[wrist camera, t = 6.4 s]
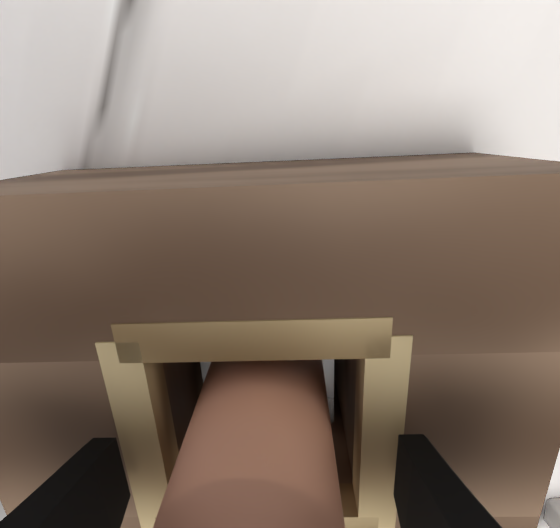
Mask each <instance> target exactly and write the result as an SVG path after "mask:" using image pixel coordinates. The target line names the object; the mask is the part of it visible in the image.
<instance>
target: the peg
mask: <svg viewBox="0 0 560 528" xmlns="http://www.w3.org/2000/svg"><path fill="white" fill-rule="evenodd" d="M153 528H345V524H344V516H343V509H342V502H341V494H340V487H339V480H338V472H337V465H336V458H335V450H334V443H333V436H332V428H331V421H330V414H329V406H328V399H327V392H326V384H325V377H324V370H323V362H322V360H274V361H223V362H211V363H210V366H209V369H208V372H207V375H206V378H205V380H204V383H203V386H202V389H201V392H200V395H199V397H198V400H197V403H196V406H195V409H194V412H193V414H192V417H191V420H190V423H189V426H188V429H187V432H186V434H185V437H184V440H183V443H182V446H181V449H180V451H179V454H178V457H177V460H176V463H175V466H174V469H173V471H172V474H171V477H170V480H169V483H168V486H167V488H166V491H165V494H164V497H163V500H162V503H161V506H160V508H159V511H158V514H157V517H156V520H155V523H154V526H153Z"/></svg>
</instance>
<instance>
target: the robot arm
mask: <svg viewBox="0 0 560 528" xmlns="http://www.w3.org/2000/svg"><path fill="white" fill-rule="evenodd" d="M393 495H394V500H395V504H396V509H397V514H398V518H399V523H400V527H401V528H502V527H501V526H500V525H499V523H498V522H497V521H496V520H495V519H494V518H493V517H492V515H491V514H490V513H489V512H488V511H487V510H486V509H485V507H484V506H483V505H482V504H481V503H480V502H479V501H478V500H477V498H476V497H475V496H474V495H473V494H472V492H471V491H470V490H469V489H468V488H467V487H466V485H465V484H464V483H463V482H462V480H461V479H460V478H459V477H458V476H457V474H456V473H455V472H454V471H453V470H452V468H451V467H450V466H449V465H448V463H447V462H446V461H445V460H444V458H443V457H442V456H441V455H440V453H439V452H438V451H437V450H436V448H435V447H434V446H433V445H432V443H431V442H430V441H429V439H428V438H427V437H426V436H425V435H424V434H399V435H398V447H397V458H396V469H395V481H394V492H393ZM130 496H131V494H130V490H129V486H128V482H127V478H126V474H125V471H124V467H123V463H122V459H121V455H120V451H119V447H118V443H117V439H116V437H112V438H92V439H91V440H90V441H89V442H88V443H87V444H85V445H84V446H83V447H82V448H81V449H80V450H79V451H78V452H77V453H75V454H74V455H73V456H72V457H71V458H70V459H69V460H68V461H67V462H66V463H64V464H63V465H62V466H61V467H60V468H59V469H58V470H57V471H56V472H55V473H54V474H53V475H51V476H50V477H49V478H48V479H47V480H46V481H45V482H44V483H43V484H42V485H40V486H39V487H38V488H37V489H36V490H35V491H34V492H33V493H32V494H30V495H29V496H28V497H27V498H26V499H25V500H24V501H23V502H22V503H20V504H19V505H18V506H17V507H16V508H15V509H14V510H13V511H12V512H10V513H9V514H8V515H7V516H6V517H5V518H4V519H3V520H2V521H0V528H120V527H121V524H122V521H123V518H124V515H125V512H126V509H127V505H128V502H129V499H130Z"/></svg>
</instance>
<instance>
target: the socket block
mask: <svg viewBox="0 0 560 528" xmlns="http://www.w3.org/2000/svg"><path fill="white" fill-rule="evenodd" d="M326 359H334V422H331V428H332V436H333V443H334V450H335V458H336V465H337V472H338V480H339V487H340V494H341V502H342V509H343V516H344V524H345V528H401V527H400V523H399V518H398V514H397V509H396V504H395V500H394V495H393V492H394V481H395V469H396V458H397V447H398V435H399V434H424V435H425V436H426V437H427V438H428V439H429V441H430V442H431V443H432V445H433V446H434V447H435V448H436V450H437V451H438V452H439V453H440V455H441V456H442V457H443V458H444V460H445V461H446V462H447V463H448V465H449V466H450V467H451V468H452V470H453V471H454V472H455V473H456V474H457V476H458V477H459V478H460V479H461V480H462V482H463V483H464V484H465V485H466V487H467V488H468V489H469V490H470V491H471V492H472V494H473V495H474V496H475V497H476V498H477V500H478V501H479V502H480V503H481V504H482V505H483V506H484V507H485V509H486V510H487V511H488V512H489V513H490V514H491V515H492V517H493V518H494V519H495V520H496V521H497V522H498V523H499V525H500V526H501V527H502V528H537V525H538V522H539V518H540V515H541V511H542V508H543V504H544V501H545V497H546V494H547V490H548V487H549V483H550V480H551V476H552V473H553V469H554V466H555V462H556V459H557V455H558V452H559V448H560V162H558V161H548V160H539V159H529V158H520V157H510V156H500V155H491V154H481V153H457V154H434V155H410V156H387V157H363V158H340V159H316V160H293V161H269V162H246V163H222V164H199V165H176V166H152V167H129V168H105V169H82V170H61V171H54V172H48V173H42V174H36V175H30V176H23V177H17V178H11V179H5V180H0V500H1V503H2V505H3V507H4V510H5V512H6V514H7V515H8V514H9V513H10V512H12V511H13V510H14V509H15V508H16V507H17V506H18V505H19V504H20V503H22V502H23V501H24V500H25V499H26V498H27V497H28V496H29V495H30V494H32V493H33V492H34V491H35V490H36V489H37V488H38V487H39V486H40V485H42V484H43V483H44V482H45V481H46V480H47V479H48V478H49V477H50V476H51V475H53V474H54V473H55V472H56V471H57V470H58V469H59V468H60V467H61V466H62V465H63V464H64V463H66V462H67V461H68V460H69V459H70V458H71V457H72V456H73V455H74V454H75V453H77V452H78V451H79V450H80V449H81V448H82V447H83V446H84V445H85V444H87V443H88V442H89V441H90V440H91V439H92V438H112V437H116V439H117V443H118V447H119V451H120V455H121V459H122V463H123V467H124V471H125V474H126V478H127V482H128V486H129V490H130V494H131V496H130V499H129V502H128V505H127V509H126V512H125V515H124V518H123V521H122V524H121V527H120V528H153V526H154V523H155V520H156V517H157V514H158V511H159V508H160V506H161V503H162V500H163V497H164V494H165V491H166V488H167V486H168V483H169V480H170V477H171V474H172V471H173V469H174V466H175V463H176V460H177V457H178V454H179V451H180V449H181V446H182V443H183V440H184V437H185V434H186V432H187V429H188V426H189V423H190V420H191V417H192V414H193V412H194V409H195V406H196V403H197V400H198V397H199V395H200V392H201V389H202V386H203V379H202V372H201V364H200V362H223V361H274V360H326Z"/></svg>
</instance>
